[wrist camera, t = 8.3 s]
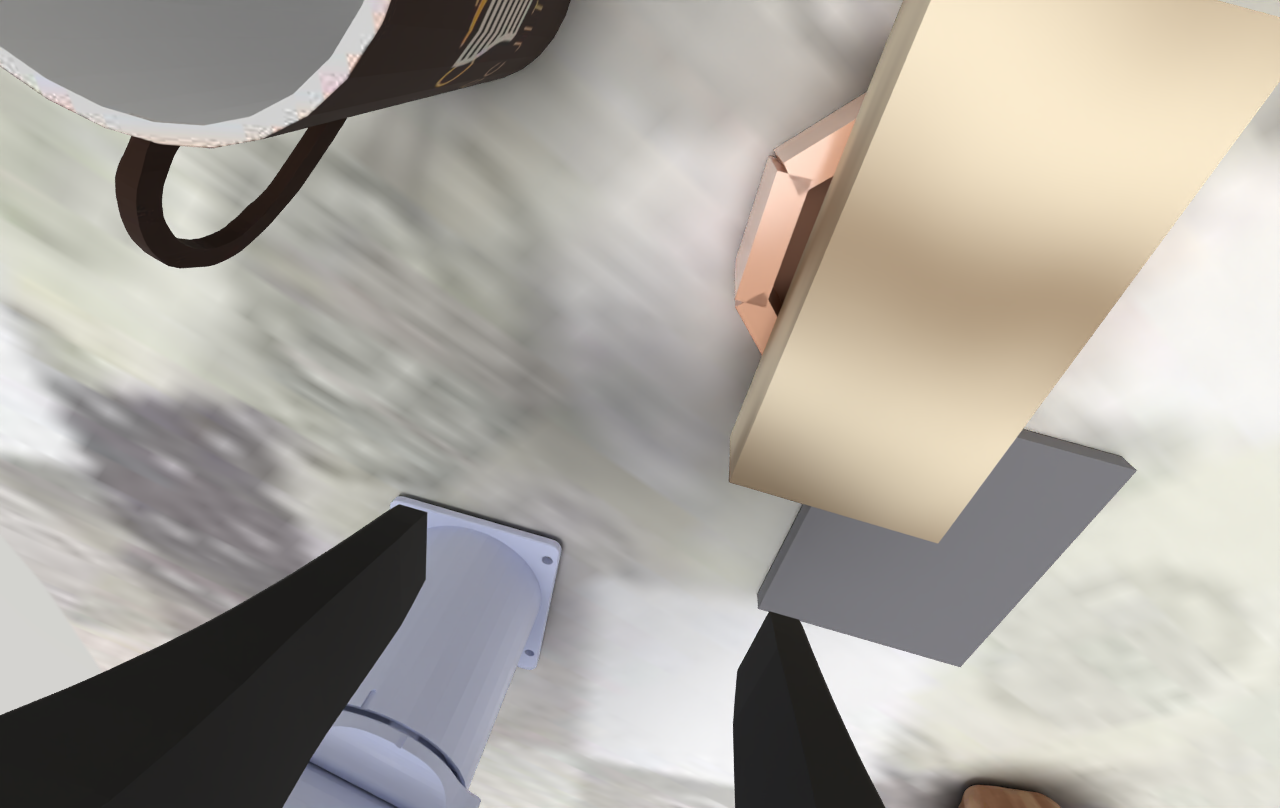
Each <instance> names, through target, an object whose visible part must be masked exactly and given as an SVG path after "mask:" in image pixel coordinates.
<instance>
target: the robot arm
mask: <svg viewBox="0 0 1280 808" xmlns="http://www.w3.org/2000/svg"><path fill="white" fill-rule="evenodd" d="M561 551H562V550H561V546H560V544H559V543H558V542H557V541H555V540H552V539H549V538H546V537H542V536H539V535H535V534H532V533H528V532H525V531H521V530H518V529H514V528H511V527H507V526H504V525H500V524H497V523H494V522H490V521H487V520H483V519H480V518H476V517H473V516H469V515H466V514H462V513H459V512H455V511H452V510H448V509H445V508H441V507H438V506H435V505H431V504H428V503H424V502H421V501H417V500H414V499H410V498H407V497H402V496H399V497H396V498H395V499H394V500H393V501H392V502H391V504H390V510H388V511H387V512H385V513H384V514H382V515H381V516H380V517H378V518H377V519H375V520H374V521H372V522H371V523H369V524H368V525H366V526H365V527H363V528H362V529H360V530H359V531H357V532H356V533H354V534H353V535H351V536H350V537H348V538H347V539H345V540H344V541H342V542H341V543H339V544H338V545H336V546H335V547H333V548H332V549H330V550H328V551H327V552H325V553H324V554H322V555H321V556H319V557H317V558H316V559H314V560H313V561H311V562H309V563H308V564H306V565H305V566H303V567H302V568H300V569H298V570H297V571H295V572H294V573H292V574H290V575H289V576H287V577H285V578H284V579H282V580H280V581H279V582H277V583H275V584H274V585H272V586H270V587H268V588H267V589H265V590H263V591H262V592H260V593H258V594H256V595H255V596H253V597H251V598H249V599H248V600H246V601H244V602H243V603H241V604H239V605H237V606H236V607H234V608H232V609H230V610H228V611H227V612H225V613H223V614H221V615H219V616H217V617H215V618H214V619H212V620H210V621H208V622H206V623H204V624H202V625H200V626H198V627H197V628H195V629H193V630H191V631H189V632H187V633H185V634H183V635H181V636H179V637H177V638H175V639H173V640H171V641H169V642H167V643H165V644H163V645H161V646H159V647H157V648H154V649H152V650H150V651H148V652H146V653H144V654H142V655H139V656H137V657H135V658H133V659H131V660H129V661H127V662H124V663H122V664H120V665H118V666H116V667H114V668H112V669H110V670H107V671H105V672H103V673H101V674H98V675H96V676H94V677H92V678H89V679H87V680H85V681H83V682H80V683H78V684H76V685H73V686H71V687H69V688H66V689H64V690H61V691H59V692H56V693H54V694H51V695H49V696H47V697H44V698H42V699H39V700H37V701H34V702H32V703H30V704H27V705H24V706H22V707H19V708H17V709H14V710H12V711H10V712H7V713H5V714H2V715H0V808H478V807H479V805H480V802H481V800H480V798H479V797H478V796H476V795H474V794H473V793H471V792H470V791H469V790H468V789H469V786H470V784H471V781H472V779H473V776H474V773H475V771H476V768H477V766H478V763H479V761H480V758H481V756H482V753H483V751H484V748H485V746H486V743H487V740H488V738H489V735H490V733H491V730H492V728H493V725H494V723H495V720H496V718H497V715H498V713H499V710H500V707H501V705H502V702H503V700H504V697H505V695H506V692H507V690H508V687H509V685H510V682H511V680H512V677H513V675H514V672H515V669H516V667H521V668H524V669H528V670H531V669H534V668H536V666H537V663H538V660H539V656H540V651H541V646H542V641H543V636H544V632H545V627H546V622H547V617H548V613H549V608H550V603H551V598H552V593H553V589H554V584H555V579H556V574H557V570H558V565H559V560H560V555H561ZM546 556H548V557H550V558H548V557H546ZM733 746H734V783H735V808H885V806H884V804H883V802H882V800H881V798H880V796H879V794H878V792H877V790H876V789H875V787H874V785H873V783H872V781H871V779H870V777H869V775H868V773H867V771H866V769H865V767H864V765H863V763H862V761H861V759H860V757H859V755H858V753H857V751H856V749H855V746H854V744H853V742H852V740H851V738H850V736H849V733H848V731H847V729H846V727H845V725H844V723H843V721H842V718H841V716H840V714H839V712H838V710H837V707H836V705H835V703H834V701H833V698H832V696H831V694H830V692H829V689H828V687H827V684H826V682H825V680H824V677H823V675H822V673H821V670H820V668H819V666H818V663H817V661H816V658H815V656H814V653H813V651H812V649H811V646H810V644H809V641H808V639H807V636H806V634H805V631H804V629H803V626H802V624H801V622H800V620H799V619H795V618H792V617H788V616H785V615H781V614H778V613H774V612H771V611H769V613H768V615H767V616H766V618H765V620H764V622H763V624H762V626H761V628H760V629H759V631H758V633H757V635H756V637H755V639H754V641H753V642H752V644H751V646H750V648H749V650H748V652H747V654H746V655H745V657H744V659H743V661H742V663H741V665H740V667H739V668H738V670H737V680H736V692H735V704H734V718H733Z"/></svg>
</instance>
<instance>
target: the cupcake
mask: <svg viewBox="0 0 1280 808" xmlns="http://www.w3.org/2000/svg"><path fill="white" fill-rule="evenodd" d="M958 808H1061V807H1060V806H1059V805H1058V804H1057V803H1056V802H1054V801H1053V800H1051V799H1050V798H1049V797H1047V796H1045V795H1043V794H1041V793H1037V792H1029V791H1023V790H1017V789H1010V788H1004V787H999V786H987V785H973V786H970V787H968V788H967V789H966V790H965V792H964V794H963V797H962V801H961V803H960V805H959V807H958Z"/></svg>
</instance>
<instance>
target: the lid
mask: <svg viewBox="0 0 1280 808" xmlns="http://www.w3.org/2000/svg"><path fill="white" fill-rule="evenodd" d="M1279 82H1280V17H1277V16H1273V15H1269V14H1266V13H1262V12H1258V11H1255V10H1251V9H1247V8H1243V7H1240V6H1236V5H1232V4H1229V3H1225V2H1221V1H1218V0H903V2H902V5H901V7H900V10H899V12H898V15H897V17H896V20H895V22H894V25H893V27H892V30H891V32H890V35H889V37H888V40H887V42H886V45H885V47H884V50H883V52H882V55H881V57H880V60H879V63H878V65H877V68H876V70H875V73H874V75H873V78H872V80H871V83H870V85H869V88H868V90H867V93H866V95H865V98H864V100H863V103H862V105H861V108H860V110H859V113H858V115H857V118H856V120H855V123H854V125H853V128H852V130H851V133H850V136H849V138H848V141H847V143H846V146H845V148H844V151H843V153H842V156H841V158H840V161H839V163H838V166H837V168H836V171H835V173H834V176H833V178H832V181H831V183H830V186H829V188H828V191H827V193H826V196H825V198H824V201H823V203H822V206H821V209H820V211H819V214H818V216H817V219H816V221H815V224H814V226H813V229H812V231H811V234H810V236H809V239H808V241H807V244H806V246H805V249H804V251H803V254H802V256H801V259H800V261H799V264H798V266H797V269H796V271H795V274H794V276H793V279H792V282H791V284H790V287H789V289H788V292H787V294H786V297H785V299H784V302H783V304H782V307H781V309H780V312H779V314H778V317H777V319H776V322H775V324H774V327H773V329H772V332H771V334H770V337H769V339H768V342H767V344H766V347H765V349H764V352H763V355H762V357H761V360H760V362H759V365H758V367H757V370H756V372H755V375H754V377H753V380H752V382H751V385H750V387H749V390H748V392H747V395H746V397H745V400H744V402H743V405H742V407H741V410H740V412H739V415H738V417H737V420H736V422H735V425H734V428H733V430H732V433H731V435H730V461H729V482H730V483H734V484H737V485H740V486H744V487H747V488H751V489H754V490H757V491H761V492H764V493H768V494H771V495H774V496H778V497H781V498H785V499H788V500H791V501H795V502H798V503H802V504H805V505H808V506H812V507H815V508H819V509H822V510H826V511H829V512H832V513H836V514H839V515H843V516H846V517H849V518H853V519H856V520H860V521H863V522H866V523H870V524H873V525H877V526H880V527H883V528H887V529H890V530H894V531H897V532H900V533H904V534H907V535H911V536H914V537H917V538H921V539H924V540H928V541H931V542H934V543H939V542H940V540H941V539H942V538H943V536H944V535H945V534H946V532H947V531H948V530H949V528H950V527H951V526H952V524H953V523H954V522H955V520H956V519H957V517H958V516H959V515H960V513H961V512H962V511H963V509H964V508H965V507H966V505H967V504H968V503H969V501H970V500H971V499H972V497H973V496H974V494H975V493H976V492H977V490H978V489H979V488H980V486H981V485H982V484H983V482H984V481H985V480H986V478H987V477H988V476H989V474H990V473H991V471H992V470H993V469H994V467H995V466H996V465H997V463H998V462H999V461H1000V459H1001V458H1002V457H1003V455H1004V454H1005V453H1006V451H1007V450H1008V448H1009V447H1010V446H1011V444H1012V443H1013V442H1014V440H1015V439H1016V438H1017V436H1018V435H1019V434H1020V432H1021V431H1022V430H1023V428H1024V427H1025V425H1026V424H1027V423H1028V421H1029V420H1030V419H1031V417H1032V416H1033V415H1034V413H1035V412H1036V411H1037V409H1038V408H1039V406H1040V405H1041V404H1042V402H1043V401H1044V400H1045V398H1046V397H1047V396H1048V394H1049V393H1050V392H1051V390H1052V389H1053V388H1054V386H1055V385H1056V383H1057V382H1058V381H1059V379H1060V378H1061V377H1062V375H1063V374H1064V373H1065V371H1066V370H1067V369H1068V367H1069V366H1070V365H1071V363H1072V362H1073V360H1074V359H1075V358H1076V356H1077V355H1078V354H1079V352H1080V351H1081V350H1082V348H1083V347H1084V346H1085V344H1086V343H1087V342H1088V340H1089V339H1090V337H1091V336H1092V335H1093V333H1094V332H1095V331H1096V329H1097V328H1098V327H1099V325H1100V324H1101V323H1102V321H1103V320H1104V319H1105V317H1106V316H1107V314H1108V313H1109V312H1110V310H1111V309H1112V308H1113V306H1114V305H1115V304H1116V302H1117V301H1118V300H1119V298H1120V297H1121V296H1122V294H1123V293H1124V291H1125V290H1126V289H1127V287H1128V286H1129V285H1130V283H1131V282H1132V281H1133V279H1134V278H1135V277H1136V275H1137V274H1138V273H1139V271H1140V270H1141V268H1142V267H1143V266H1144V264H1145V263H1146V262H1147V260H1148V259H1149V258H1150V256H1151V255H1152V254H1153V252H1154V251H1155V250H1156V248H1157V247H1158V245H1159V244H1160V243H1161V241H1162V240H1163V239H1164V237H1165V236H1166V235H1167V233H1168V232H1169V231H1170V229H1171V228H1172V226H1173V225H1174V224H1175V222H1176V221H1177V220H1178V218H1179V217H1180V216H1181V214H1182V213H1183V212H1184V210H1185V209H1186V208H1187V206H1188V205H1189V203H1190V202H1191V201H1192V199H1193V198H1194V197H1195V195H1196V194H1197V193H1198V191H1199V190H1200V189H1201V187H1202V186H1203V185H1204V183H1205V182H1206V180H1207V179H1208V178H1209V176H1210V175H1211V174H1212V172H1213V171H1214V170H1215V168H1216V167H1217V166H1218V164H1219V163H1220V162H1221V160H1222V159H1223V157H1224V156H1225V155H1226V153H1227V152H1228V151H1229V149H1230V148H1231V147H1232V145H1233V144H1234V143H1235V141H1236V140H1237V139H1238V137H1239V136H1240V134H1241V133H1242V132H1243V130H1244V129H1245V128H1246V126H1247V125H1248V124H1249V122H1250V121H1251V120H1252V118H1253V117H1254V116H1255V114H1256V113H1257V111H1258V110H1259V109H1260V107H1261V106H1262V105H1263V103H1264V102H1265V101H1266V99H1267V98H1268V97H1269V95H1270V94H1271V93H1272V91H1273V90H1274V88H1275V87H1276V86H1277V84H1278V83H1279Z"/></svg>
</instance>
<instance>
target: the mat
mask: <svg viewBox="0 0 1280 808" xmlns="http://www.w3.org/2000/svg"><path fill="white" fill-rule="evenodd" d="M1136 471H1137V470H1136V469H1135V468H1134V467H1132V466H1131V465H1130V464H1129V463H1128V462H1127V461H1126V460H1125V459H1124V458H1123V457H1121V456H1118V455H1114V454H1110V453H1107V452H1103V451H1100V450H1096V449H1092V448H1089V447H1085V446H1081V445H1078V444H1074V443H1071V442H1067V441H1063V440H1060V439H1056V438H1052V437H1049V436H1045V435H1042V434H1038V433H1034V432H1031V431H1027V430H1024V429H1023V430H1022V431H1021V432H1020V434H1019V435H1018V436H1017V438H1016V439H1015V440H1014V442H1013V443H1012V444H1011V446H1010V447H1009V448H1008V450H1007V451H1006V453H1005V454H1004V455H1003V457H1002V458H1001V459H1000V461H999V462H998V463H997V465H996V466H995V467H994V469H993V470H992V471H991V473H990V474H989V476H988V477H987V478H986V480H985V481H984V482H983V484H982V485H981V486H980V488H979V489H978V490H977V492H976V493H975V494H974V496H973V497H972V499H971V500H970V501H969V503H968V504H967V505H966V507H965V508H964V509H963V511H962V512H961V513H960V515H959V516H958V517H957V519H956V520H955V522H954V523H953V524H952V526H951V527H950V528H949V530H948V531H947V532H946V534H945V535H944V536H943V538H942V539H941V540H940V542H939V543H934V542H931V541H928V540H924V539H921V538H917V537H914V536H911V535H907V534H904V533H900V532H897V531H894V530H890V529H887V528H883V527H880V526H877V525H873V524H870V523H866V522H863V521H860V520H856V519H853V518H849V517H846V516H843V515H839V514H836V513H832V512H829V511H826V510H822V509H819V508H815V507H812V506H808V505H805V504H803V505H802V507H801V509H800V511H799V513H798V515H797V517H796V519H795V521H794V523H793V525H792V527H791V529H790V531H789V533H788V535H787V537H786V539H785V541H784V543H783V545H782V547H781V549H780V551H779V553H778V555H777V557H776V559H775V561H774V563H773V564H772V566H771V568H770V570H769V572H768V574H767V576H766V578H765V580H764V582H763V584H762V586H761V588H760V590H759V592H758V594H757V597H758V609H761V610H764V611H768V612H769V611H771V612H774V613H778V614H781V615H785V616H788V617H792V618H795V619H799V620H800V621H802V622H806V623H809V624H813V625H816V626H819V627H823V628H826V629H830V630H833V631H837V632H840V633H844V634H847V635H851V636H854V637H858V638H861V639H864V640H868V641H871V642H875V643H878V644H882V645H885V646H889V647H892V648H896V649H899V650H903V651H906V652H909V653H913V654H916V655H920V656H923V657H927V658H930V659H934V660H937V661H941V662H944V663H948V664H951V665H954V666H958V667H961V666H962V665H963V664H964V662H965V661H966V660H967V659H968V658H969V657H970V656H971V655H972V654H973V652H974V651H975V650H976V649H977V648H978V647H979V646H980V645H981V644H982V642H983V641H984V640H985V639H986V638H987V637H988V636H989V635H990V634H991V632H992V631H993V630H994V629H995V628H996V627H997V626H998V625H999V624H1000V622H1001V621H1002V620H1003V619H1004V618H1005V617H1006V616H1007V615H1008V613H1009V612H1010V611H1011V610H1012V609H1013V608H1014V607H1015V606H1016V605H1017V603H1018V602H1019V601H1020V600H1021V599H1022V598H1023V597H1024V596H1025V595H1026V593H1027V592H1028V591H1029V590H1030V589H1031V588H1032V587H1033V586H1034V585H1035V583H1036V582H1037V581H1038V580H1039V579H1040V578H1041V577H1042V576H1043V575H1044V573H1045V572H1046V571H1047V570H1048V569H1049V568H1050V567H1051V566H1052V565H1053V563H1054V562H1055V561H1056V560H1057V559H1058V558H1059V557H1060V556H1061V554H1062V553H1063V552H1064V551H1065V550H1066V549H1067V548H1068V547H1069V546H1070V544H1071V543H1072V542H1073V541H1074V540H1075V539H1076V538H1077V537H1078V536H1079V534H1080V533H1081V532H1082V531H1083V530H1084V529H1085V528H1086V527H1087V526H1088V524H1089V523H1090V522H1091V521H1092V520H1093V519H1094V518H1095V517H1096V516H1097V514H1098V513H1099V512H1100V511H1101V510H1102V509H1103V508H1104V507H1105V506H1106V504H1107V503H1108V502H1109V501H1110V500H1111V499H1112V498H1113V497H1114V495H1115V494H1116V493H1117V492H1118V491H1119V490H1120V489H1121V488H1122V487H1123V485H1124V484H1125V483H1126V482H1127V481H1128V480H1129V479H1130V478H1131V477H1132V475H1133V474H1134V473H1135V472H1136Z"/></svg>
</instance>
